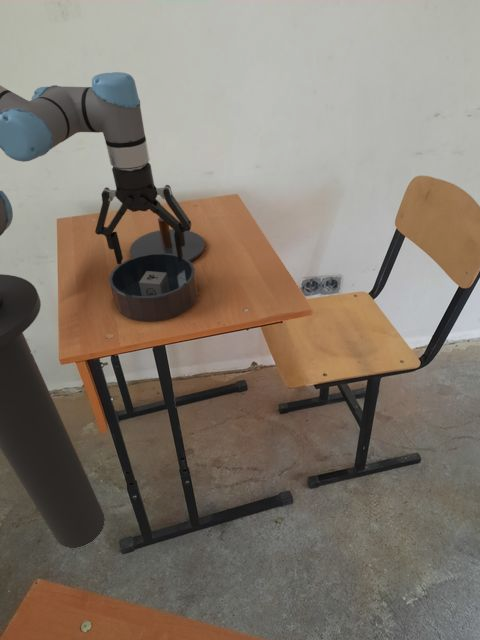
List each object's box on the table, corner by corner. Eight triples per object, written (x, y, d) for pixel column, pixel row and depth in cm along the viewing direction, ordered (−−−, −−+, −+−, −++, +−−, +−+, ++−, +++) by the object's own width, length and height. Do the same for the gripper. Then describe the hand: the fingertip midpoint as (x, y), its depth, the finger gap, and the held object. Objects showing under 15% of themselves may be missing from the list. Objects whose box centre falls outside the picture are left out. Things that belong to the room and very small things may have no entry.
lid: (124, 270, 123) (116, 238, 117) (137, 233, 138) (130, 203, 132) (202, 267, 123) (199, 235, 117) (206, 231, 138) (203, 201, 132)
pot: (107, 323, 106) (100, 299, 101) (123, 276, 120) (118, 254, 116) (194, 320, 106) (191, 296, 102) (200, 274, 121) (197, 251, 116)
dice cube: (150, 288, 115) (146, 271, 112) (169, 290, 114) (166, 272, 111) (142, 300, 111) (138, 282, 108) (163, 302, 111) (159, 284, 107)
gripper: (195, 155, 96) (206, 249, 109) (72, 160, 95) (98, 253, 109) (193, 168, 90) (204, 266, 104) (61, 173, 90) (91, 270, 103)
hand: (150, 260), depth 106 cm, fingers open, 13 cm apart
